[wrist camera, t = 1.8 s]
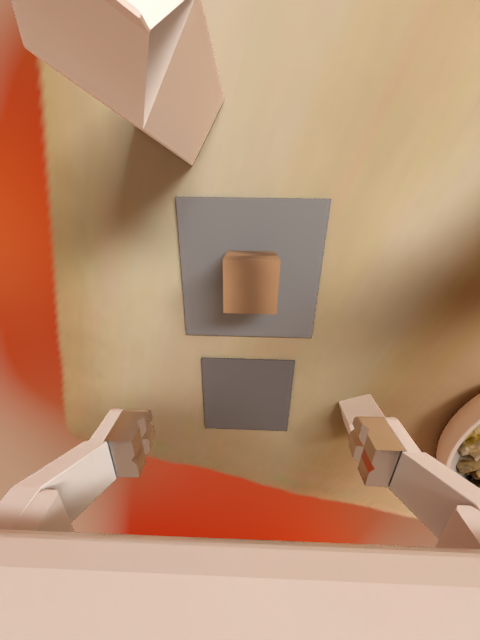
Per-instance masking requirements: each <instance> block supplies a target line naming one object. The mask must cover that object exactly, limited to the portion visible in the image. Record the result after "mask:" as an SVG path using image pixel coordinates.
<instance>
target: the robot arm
mask: <svg viewBox="0 0 480 640" xmlns="http://www.w3.org/2000/svg"><path fill="white" fill-rule="evenodd" d="M151 419H152V413H151V411H150V410H141V409H118V408H113V409H111V410H110V411H109V412H108V413H107V415H106V416H105V418H104V419H103V421H102V422H101V423H100V425H99V426H98V428H97V429H96V431H95V432H94V434H93V435H92V437H91V438H90V439H89V441H84V442H82V443H81V444H79V445H77V446H76V447H74V448H73V449H71V450H69V451H68V452H66V453H65V454H63V455H62V456H60V457H58V458H57V459H55V460H54V461H52V462H51V463H49V464H47V465H46V466H44V467H43V468H41V469H40V470H38V471H36V472H35V473H33V474H32V475H30V476H29V477H27V478H25V479H24V480H22V481H21V482H19V483H18V484H16V485H14V486H13V487H12V488H11V489H10V490H9V491H8V493H7V494H6V495H5V496H4V497H3V499H2V500H1V501H0V640H480V488H478V487H477V486H475V485H474V484H472V483H471V482H469V481H468V480H466V479H465V478H463V477H462V476H460V475H459V474H457V473H456V472H454V471H453V470H451V469H450V468H448V467H447V466H445V465H444V464H442V463H441V462H439V461H438V460H436V459H435V458H433V457H432V456H430V455H429V454H427V453H426V452H421V451H420V449H419V448H418V447H417V445H416V444H415V442H414V441H413V440H412V438H411V437H410V435H409V434H408V433H407V431H406V430H405V428H404V427H403V426H402V424H401V423H400V421H399V420H398V419H397V418H395V417H364V416H356V417H355V418H354V419H353V423H352V424H353V426H354V428H355V429H354V430H352V431H351V432H350V436H349V447H350V451H351V454H352V456H353V458H354V459H355V460H356V461H357V462H359V466H358V470H359V473H360V475H361V477H362V480H363V482H364V484H365V486H378V487H389V489H390V490H391V491H392V492H393V493H394V494H395V495H396V496H397V497H398V498H399V499H400V500H401V501H402V502H403V503H404V504H405V505H406V506H407V507H408V509H409V510H410V511H411V512H412V513H413V514H414V515H415V516H416V517H417V518H418V519H419V520H420V521H421V522H422V523H423V524H424V525H425V526H426V527H427V528H428V529H429V530H430V531H431V532H432V533H434V535H435V536H436V537H437V538H438V539H439V540H438V542H437V543H436V545H435V547H416V546H392V545H368V544H367V545H366V544H343V543H341V544H340V543H319V542H295V541H270V540H269V541H268V540H245V539H222V538H197V537H173V536H172V537H171V536H149V535H125V534H102V533H78V532H77V533H76V532H74V529H73V527H72V525H71V522H72V521H73V520H74V519H75V518H76V517H77V516H78V515H80V514H81V513H82V512H83V511H84V510H85V509H86V508H87V507H88V506H89V505H90V504H91V503H92V502H93V501H94V500H95V499H96V498H97V497H98V496H99V495H100V494H101V493H102V492H103V491H104V490H105V489H106V488H107V487H108V486H109V485H110V484H112V483H113V482H114V481H115V480H116V477H140V475H141V472H142V470H143V467H144V465H145V462H146V458H145V455H146V454H147V453H148V452H149V451H150V450H151V447H152V445H153V440H154V426H153V425H152V424H151V423H150V421H151Z"/></svg>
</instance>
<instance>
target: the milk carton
mask: <svg viewBox="0 0 480 640" xmlns="http://www.w3.org/2000/svg"><path fill="white" fill-rule="evenodd" d="M11 2H12V5H13V9H14V13H15V16H16V20H17V23H18V27H19V31H20V34H21V38H22V41H23V45H24V47H25V48H26V49H27V50H29V51H30V52H31V53H32V54H34V55H35V56H37V57H38V58H39V59H41V60H42V61H43V62H45V63H46V64H48V65H49V66H51V67H52V68H53V69H55V70H56V71H58V72H59V73H60V74H62V75H63V76H65V77H66V78H68V79H69V80H70V81H72V82H73V83H75V84H76V85H78V86H79V87H80V88H82V89H83V90H85V91H86V92H87V93H89V94H90V95H92V96H93V97H95V98H96V99H97V100H99V101H100V102H102V103H103V104H104V105H106V106H107V107H109V108H110V109H112V110H113V111H114V112H116V113H117V114H119V115H120V116H121V117H123V118H124V119H126V120H127V121H129V122H130V123H131V124H133V125H134V126H136V127H137V128H139V129H140V130H141V131H143V132H144V133H146V134H147V135H148V136H150V137H151V138H153V139H154V140H156V141H157V142H158V143H160V144H161V145H163V146H164V147H166V148H167V149H168V150H170V151H171V152H173V153H174V154H175V155H177V156H178V157H180V158H181V159H183V160H184V161H185V162H187V163H188V164H190V165H193V164H194V162H195V160H196V157H197V155H198V153H199V151H200V149H201V147H202V145H203V143H204V141H205V139H206V137H207V135H208V133H209V131H210V129H211V126H212V124H213V122H214V120H215V118H216V116H217V114H218V112H219V110H220V108H221V106H222V104H223V102H224V94H223V90H222V86H221V81H220V77H219V73H218V68H217V64H216V60H215V55H214V51H213V47H212V42H211V38H210V34H209V29H208V25H207V21H206V16H205V12H204V8H203V4H202V0H11Z"/></svg>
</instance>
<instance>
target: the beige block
mask: <svg viewBox="0 0 480 640" xmlns="http://www.w3.org/2000/svg"><path fill="white" fill-rule="evenodd" d="M339 405H340V409H341V413H342V417H343V421H344V425H345V427H346V429H347V431H348V434H349V436H350V432H351V431H352V430H354V429H355V428H354V426H353V424H352V423H353V419H354V418H355V417H356V416H364V417H385V416H384V414H383V413H382V411H381V410H380V408H379V407H378V405H377V403H376V402H375V400H374V399H373V397H372V396H371V394H367V395H363V396H358V397H354V398H350V399H346V400H342V401H339Z"/></svg>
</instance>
